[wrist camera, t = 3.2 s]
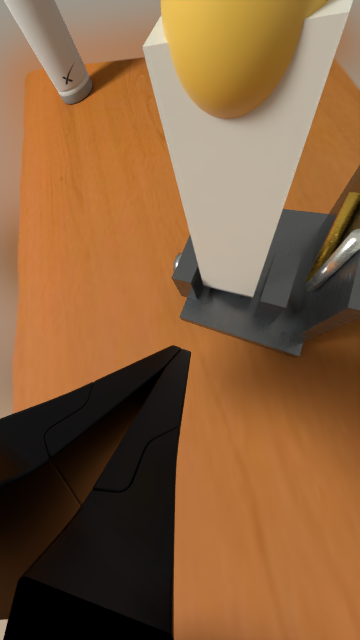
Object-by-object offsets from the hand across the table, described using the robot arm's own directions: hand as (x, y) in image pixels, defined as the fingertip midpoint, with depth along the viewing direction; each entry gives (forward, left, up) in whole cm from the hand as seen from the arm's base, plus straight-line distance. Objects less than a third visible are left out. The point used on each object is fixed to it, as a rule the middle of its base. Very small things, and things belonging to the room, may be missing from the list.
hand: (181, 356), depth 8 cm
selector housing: (+8, +5, -9) cm, 13 cm away
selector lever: (+6, +4, -7) cm, 10 cm away
